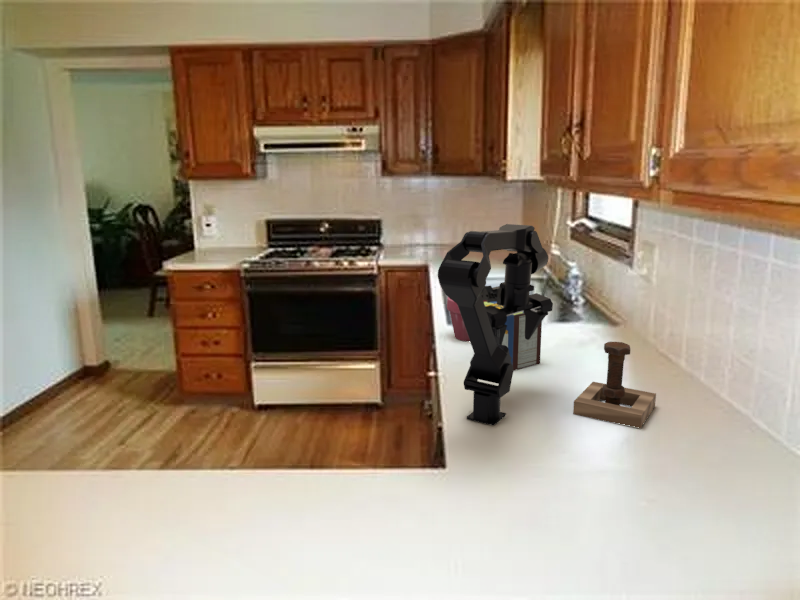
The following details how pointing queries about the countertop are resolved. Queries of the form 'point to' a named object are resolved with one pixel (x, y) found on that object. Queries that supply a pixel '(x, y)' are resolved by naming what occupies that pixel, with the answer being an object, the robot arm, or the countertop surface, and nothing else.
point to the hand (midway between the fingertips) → (512, 343)
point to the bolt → (615, 371)
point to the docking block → (633, 416)
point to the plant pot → (457, 321)
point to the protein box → (520, 340)
